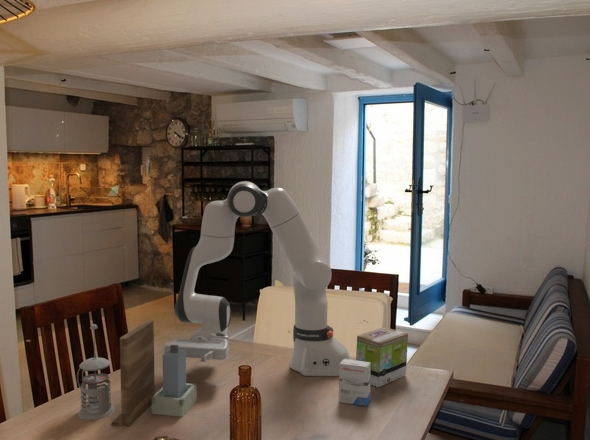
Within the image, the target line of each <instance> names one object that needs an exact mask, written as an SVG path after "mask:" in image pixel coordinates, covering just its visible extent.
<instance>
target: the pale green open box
mask: <svg viewBox="0 0 590 440" xmlns="http://www.w3.org/2000/svg"><path fill="white" fill-rule="evenodd" d="M197 387H198V385H197V383H188V382H186V393H185V394H184V395H183V396H182V397H181V398H173V397H163V386H161V388H159V389H158V391H155V394H154V395H153V396H152V405H151V414H152V415H160V416H161V415H162V416H170V417H179V418H180V417H184V416H185V415H186V414H187V412H188V411H189V410H190V409H191V408H192V407H193V405H195V403H196V401H197V400H198V391H197V390H198V388H197Z"/></svg>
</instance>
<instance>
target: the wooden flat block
mask: <svg viewBox="0 0 590 440" xmlns="http://www.w3.org/2000/svg"><path fill="white" fill-rule="evenodd" d="M154 325H155V324H154V321H153V320H146V321H144V322H143V323H141V324H139V325H138V326H136V327H135V328H133V329H132V330H131V331H128V332H127V333H126V334H124V335H122V336H121V337H119V361H120V362H119V364H120V396H121V397H120V399H121V400H120V403H121V404H120V405H121V407H120V408H121V412H120V413H119V414H118V415H117V416H116V417H115V418H114V419H113V420H112V421H111V426H113V427H121V428H122V427H123V428H130V427H131V426H132V425H133V424H134V423H135V422H136V421H137V420H138V419H139V418H140V417H141V416H142V415H143V414H144V413H145V412H146V411H147V410H148V409H149V408H150V407H152V396H153V395H154V394H155V393H156V390H155V387H156V386H155V383H156V381H155V377H156V376H155V338H154V337H155V333H154V332H155V328H154Z"/></svg>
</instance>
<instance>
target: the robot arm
mask: <svg viewBox="0 0 590 440" xmlns="http://www.w3.org/2000/svg"><path fill="white" fill-rule="evenodd" d="M259 215H262V216H263V217H264V219H265V220H266V222H267V224H268V225H269V228H270V230H271V232H272V233H273V235H274V237H275V239H276V240H277V243H278V244H279V246H280V248H281V249H282V252H283V254H284V255H285V257H286V259H287V260H288V261H287V262H288V263H289V264H290V266H291V268H292V269H293V270H292V273H293V274H292V275H293V291H294V292H293V294H294V324H293V329H292V339H293V347H292V348H293V350H292V356H291V359H290V363H289V367H290V368H291V369H292V370H294V371H295V372H298V373H300V374H301V375H303V376H304V377H308V376H309V377H339V364H340V363H341V361H342V360H343V359H349V360H353V358H352V359H351V358H350V355H349V350H348V347H346V346H345V345H344V344H343V343H342V342H341V341H340V340H338V339H337V338H336V337H334V327H333V326H330V325H329V324H328V299H327V297H328V296H327V290H326V289H327V287H328V286H329V284H330V282H331V280H332V275H333V274H332V273H333V272H332V269H331V266H330V264H329V262H328V260H327V258H326V257H325V254H324V253H323V251H322V250H321V247H320V246H319V245H318V243H317V241H316V239H315V236H314V235H313V234H312V233H311V231H310V228H309V226H308V225H307V223H306V221H305V219H304V217H303V216H302V213H301V211H300V210H299V208H298V206H297V205H296V203H295V201H294V200H293V198H292V197H291V196H290V194H289V193H288V192H287V191H286V190H285V189H284V188H282V187H273V188H270V189H268V190H262V189H261V188H259V186H258V185H257V184H256V183H254V182H252V181H249V180H242V181H239V182H236V183H235V184H234V185H233V186H232V187H231V188H230V189H229V192H228V194H227V195H226V197H225V198H224V200H214V201H210V202H208V204H206V205H205V208H204V212H203V216H202V220H201V221H202V222H201V225H200V226H201V228H200V238H199V239H198V240H199V241H198V243H197V244H196V246H193V247H191V249H190V251H189V253H188V255H187V259H186V263H185V267H184V271H183V274H182V275H183V276H182V280H181V284H180V289H179V292H178V294H177V298H176V300H175V304H174V315H175V316H176V318H177V319H178V320H179V321H180V322H181V323H193V324H194V323H195V324H202V326H201V327H199V328H198V329H197V330H196V331H195V332H193V334H191V335H190V338H173V339H171V340H169V341H167V342H166V343H164V345H163V354H165V353H166V352H167V351H168V350H169V349H170V345H178V349H186V358H190V359H200V362H204V363H206V362H207V361H209V360H217V361H218V360H220V361H223V360H226V359H228V357H229V354H230V339H229V338H230V337H229V335H228V332H229V325H230V323H231V318H232V308H231V305H230V302H229V301H228V300H227V299H226V297H224V296H218V295H208V294H201V293H196V292H195V287H196V283H197V279H198V275H199V271H200V269H201V268H202V267H203V266H205V265H207V264H208V265H209V264H212V263H215V262H219V261H221V260H224V259H225V258H227V257H228V256H229V255H231V253H232V251H233V249H234V243H235V231H236V224H237V223H236V222H237V220H238V219H239V217H242V218H249V217H253V216H259Z"/></svg>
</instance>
